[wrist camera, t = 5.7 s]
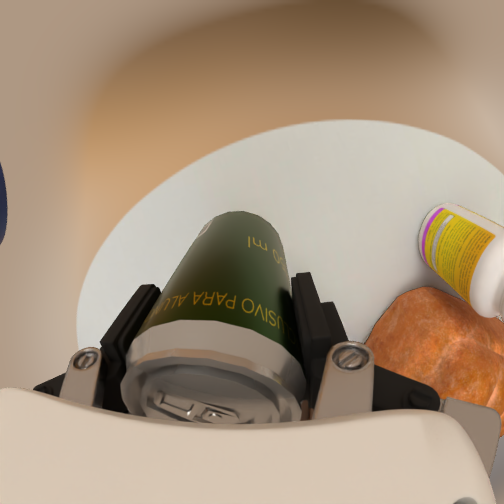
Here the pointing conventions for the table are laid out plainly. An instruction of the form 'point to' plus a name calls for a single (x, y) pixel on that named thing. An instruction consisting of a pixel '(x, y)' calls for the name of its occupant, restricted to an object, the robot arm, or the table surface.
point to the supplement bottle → (466, 255)
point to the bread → (443, 347)
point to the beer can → (221, 333)
